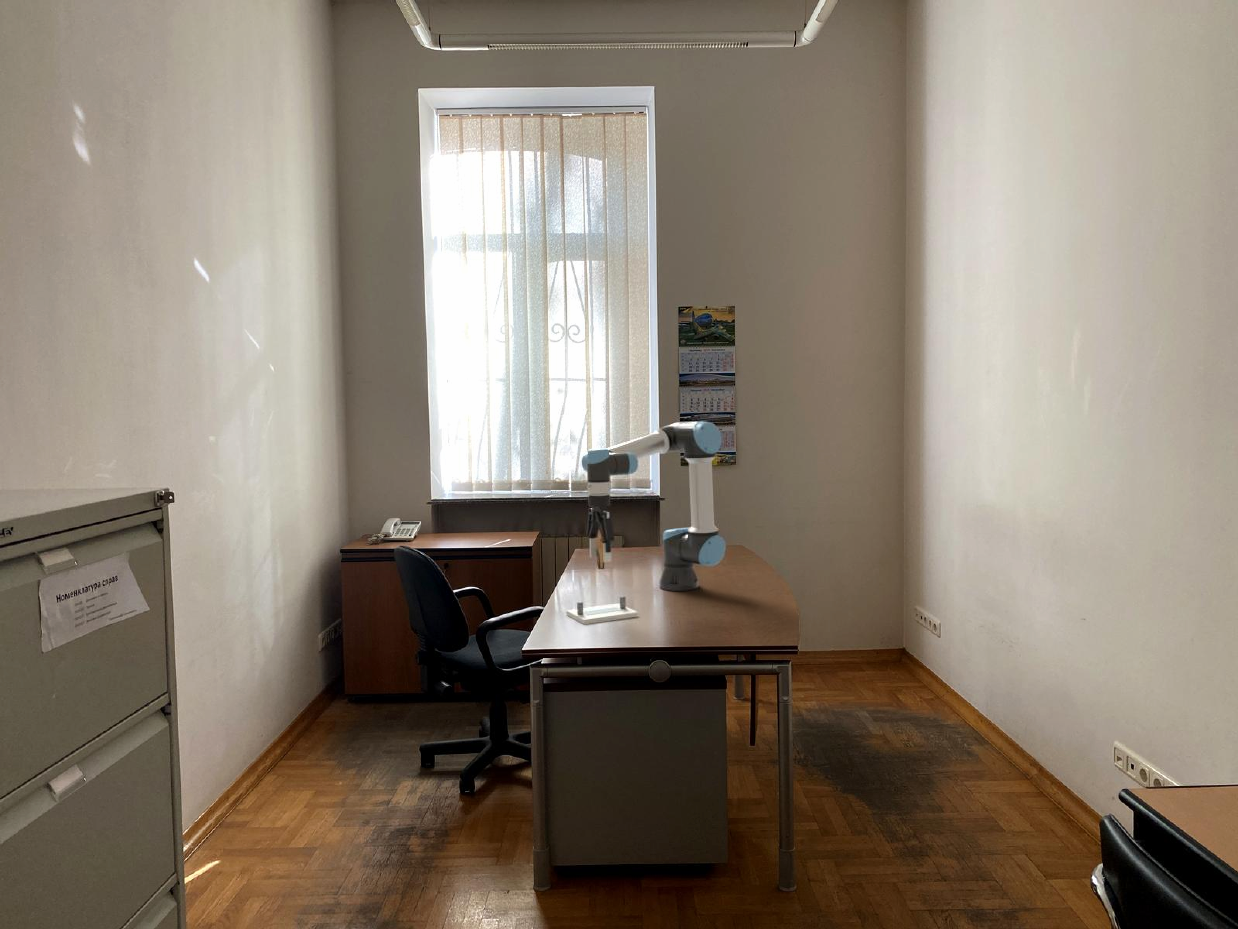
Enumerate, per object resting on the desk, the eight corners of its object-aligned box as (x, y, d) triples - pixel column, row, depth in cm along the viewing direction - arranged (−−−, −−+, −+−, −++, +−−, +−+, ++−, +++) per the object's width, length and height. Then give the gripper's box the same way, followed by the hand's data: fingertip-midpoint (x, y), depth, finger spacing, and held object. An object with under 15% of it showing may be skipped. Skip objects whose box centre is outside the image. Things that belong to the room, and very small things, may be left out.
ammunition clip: (604, 569, 287) (603, 533, 286) (598, 569, 287) (598, 533, 286) (602, 563, 298) (601, 528, 297) (597, 563, 297) (596, 529, 297)
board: (618, 607, 304) (618, 592, 304) (638, 616, 291) (637, 600, 291) (566, 614, 296) (566, 599, 295) (583, 624, 282) (583, 607, 282)
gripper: (575, 492, 299) (577, 555, 301) (603, 498, 279) (604, 565, 280) (595, 491, 302) (596, 553, 304) (623, 496, 282) (625, 563, 283)
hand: (600, 559), depth 292 cm, fingers closed on ammunition clip, 10 cm apart
